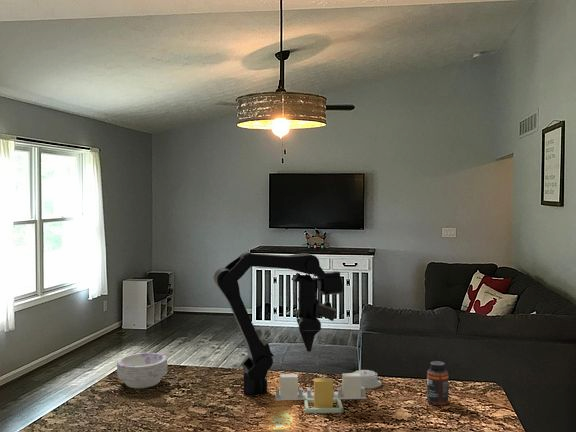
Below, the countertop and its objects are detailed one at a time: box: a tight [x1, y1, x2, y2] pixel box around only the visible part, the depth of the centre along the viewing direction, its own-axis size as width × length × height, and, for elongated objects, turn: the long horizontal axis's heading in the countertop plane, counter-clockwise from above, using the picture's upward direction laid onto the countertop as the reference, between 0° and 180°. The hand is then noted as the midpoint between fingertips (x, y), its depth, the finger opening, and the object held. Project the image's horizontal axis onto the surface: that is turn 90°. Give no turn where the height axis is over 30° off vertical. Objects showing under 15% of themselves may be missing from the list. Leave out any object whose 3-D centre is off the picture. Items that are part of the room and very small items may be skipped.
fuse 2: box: [341, 372, 361, 397], centre depth 170 cm, size 5×3×6 cm, turn 92°
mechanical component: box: [352, 369, 383, 390], centre depth 181 cm, size 10×4×10 cm
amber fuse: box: [313, 377, 334, 408], centre depth 161 cm, size 5×3×8 cm, turn 92°
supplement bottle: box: [426, 360, 450, 406], centre depth 167 cm, size 6×6×11 cm
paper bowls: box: [116, 352, 168, 389], centre depth 183 cm, size 15×15×8 cm
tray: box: [303, 398, 345, 414], centre depth 161 cm, size 10×8×2 cm
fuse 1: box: [279, 373, 299, 398], centre depth 169 cm, size 5×3×6 cm, turn 92°
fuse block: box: [274, 386, 368, 401], centre depth 170 cm, size 26×6×3 cm, turn 92°
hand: (307, 347), depth 177 cm, fingers open, 9 cm apart
